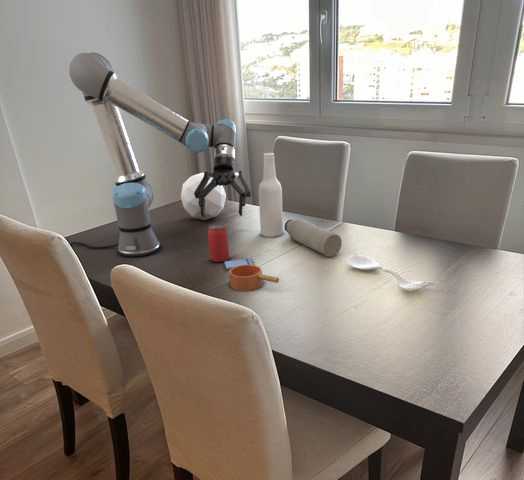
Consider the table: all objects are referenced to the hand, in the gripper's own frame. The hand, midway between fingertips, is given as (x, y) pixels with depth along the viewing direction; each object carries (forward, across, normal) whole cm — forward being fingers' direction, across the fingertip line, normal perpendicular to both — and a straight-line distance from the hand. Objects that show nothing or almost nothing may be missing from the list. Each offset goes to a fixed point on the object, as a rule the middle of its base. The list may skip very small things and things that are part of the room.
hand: (221, 214), depth 172 cm
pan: (+31, +12, -12) cm, 35 cm away
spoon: (+28, +54, -9) cm, 62 cm away
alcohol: (-4, +16, +23) cm, 28 cm away
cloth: (+20, +7, -1) cm, 21 cm away
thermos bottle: (+12, +39, +2) cm, 41 cm away
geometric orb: (-20, -16, +40) cm, 47 cm away
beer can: (+16, 0, +3) cm, 16 cm away
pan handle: (+32, +19, -17) cm, 41 cm away
